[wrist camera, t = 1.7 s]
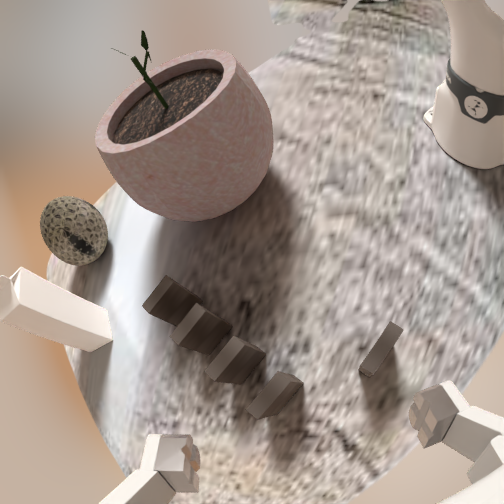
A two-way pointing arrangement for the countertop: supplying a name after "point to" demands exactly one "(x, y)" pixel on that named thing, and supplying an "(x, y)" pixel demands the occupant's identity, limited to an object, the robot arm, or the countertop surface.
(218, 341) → the domino
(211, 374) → the domino
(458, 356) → the countertop surface
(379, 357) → the domino
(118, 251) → the countertop surface
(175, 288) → the domino
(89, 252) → the decorative egg
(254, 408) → the domino
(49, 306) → the milk
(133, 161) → the plant pot
